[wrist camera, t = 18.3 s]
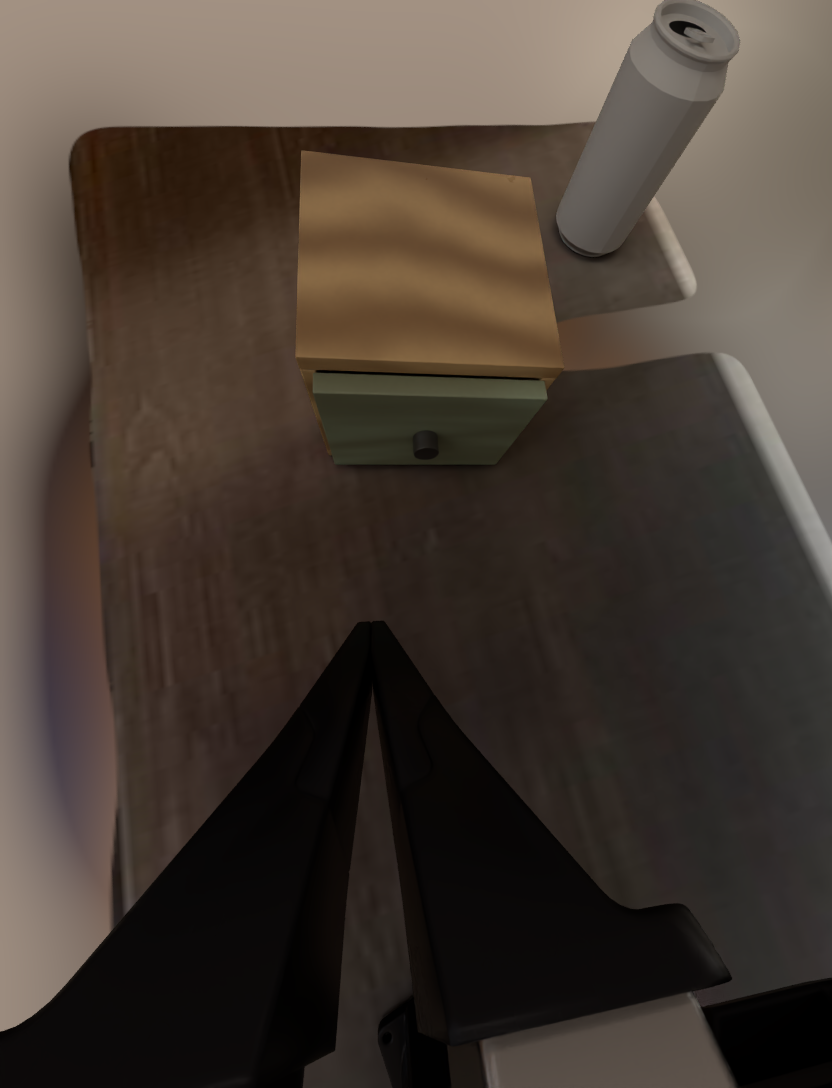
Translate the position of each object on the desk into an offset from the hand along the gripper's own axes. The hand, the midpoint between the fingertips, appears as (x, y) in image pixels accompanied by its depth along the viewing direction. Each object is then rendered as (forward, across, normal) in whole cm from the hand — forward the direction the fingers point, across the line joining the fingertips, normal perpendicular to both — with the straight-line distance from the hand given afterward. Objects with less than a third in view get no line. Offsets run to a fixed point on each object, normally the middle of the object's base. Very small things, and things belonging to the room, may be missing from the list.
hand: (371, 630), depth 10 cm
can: (+36, +23, +18) cm, 46 cm away
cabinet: (+22, +4, +5) cm, 23 cm away
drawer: (+20, +3, +4) cm, 21 cm away
